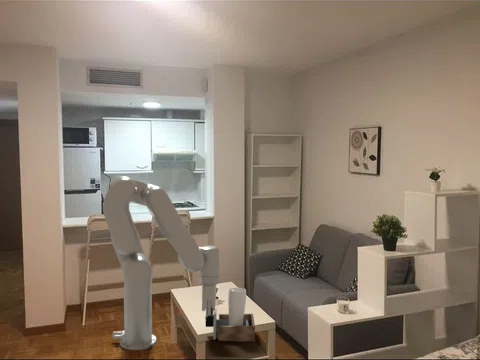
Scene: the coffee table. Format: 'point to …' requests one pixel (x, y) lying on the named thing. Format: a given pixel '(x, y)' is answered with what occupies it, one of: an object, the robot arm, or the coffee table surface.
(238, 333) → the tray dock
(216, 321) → the tray
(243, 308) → the drinking glass
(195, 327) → the coffee table surface
